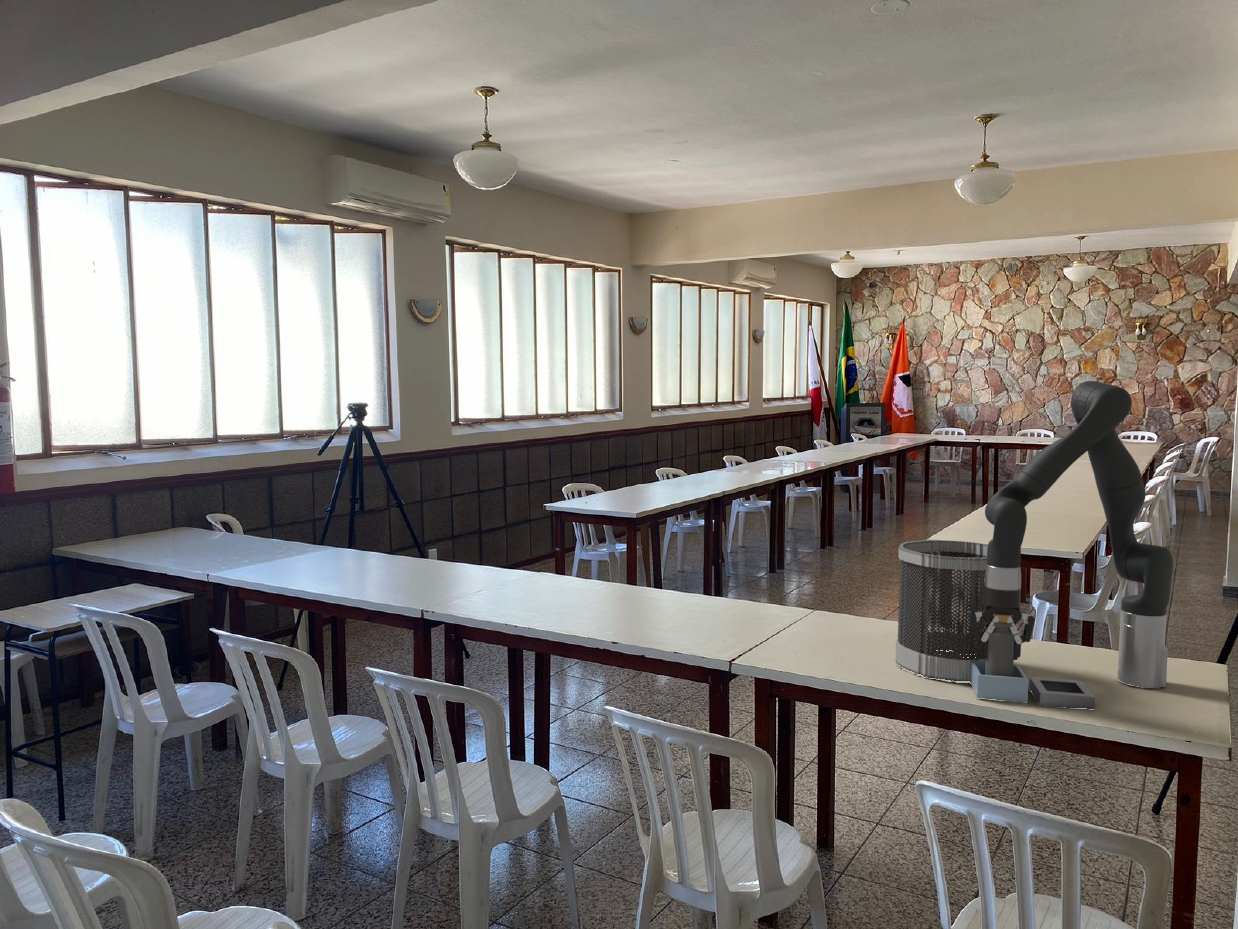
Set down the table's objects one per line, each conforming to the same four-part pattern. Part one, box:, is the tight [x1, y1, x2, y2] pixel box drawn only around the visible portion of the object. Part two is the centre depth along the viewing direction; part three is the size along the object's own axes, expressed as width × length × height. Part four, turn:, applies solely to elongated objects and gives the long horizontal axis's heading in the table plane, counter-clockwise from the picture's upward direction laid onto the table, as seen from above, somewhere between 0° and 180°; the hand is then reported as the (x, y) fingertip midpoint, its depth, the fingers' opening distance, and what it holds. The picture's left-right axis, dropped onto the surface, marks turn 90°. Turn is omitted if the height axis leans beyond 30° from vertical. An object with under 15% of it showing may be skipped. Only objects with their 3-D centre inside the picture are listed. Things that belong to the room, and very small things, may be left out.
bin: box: [970, 662, 1029, 703], centre depth 201 cm, size 10×10×6 cm
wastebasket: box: [895, 539, 988, 681], centre depth 220 cm, size 25×25×30 cm
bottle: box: [985, 614, 1015, 677], centre depth 200 cm, size 6×6×15 cm
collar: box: [1028, 676, 1097, 710], centre depth 197 cm, size 11×11×3 cm
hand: (999, 657), depth 200 cm, fingers closed on bottle, 5 cm apart
